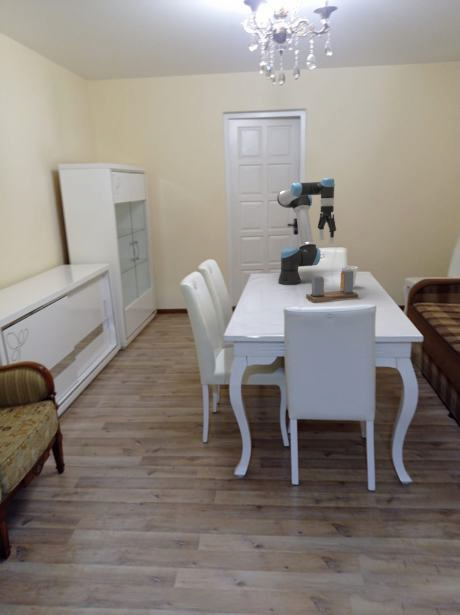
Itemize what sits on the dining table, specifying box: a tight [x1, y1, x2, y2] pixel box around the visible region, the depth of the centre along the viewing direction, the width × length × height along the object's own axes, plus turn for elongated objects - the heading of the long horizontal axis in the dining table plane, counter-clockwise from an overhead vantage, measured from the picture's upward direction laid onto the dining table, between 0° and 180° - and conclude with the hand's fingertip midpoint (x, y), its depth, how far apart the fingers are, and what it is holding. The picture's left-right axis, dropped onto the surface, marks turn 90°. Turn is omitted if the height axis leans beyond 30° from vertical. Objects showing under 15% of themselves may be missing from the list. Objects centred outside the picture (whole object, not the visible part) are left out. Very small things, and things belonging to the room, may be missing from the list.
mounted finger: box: [339, 270, 354, 294], centre depth 251 cm, size 4×6×13 cm, turn 103°
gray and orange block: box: [310, 275, 325, 297], centre depth 248 cm, size 4×6×13 cm, turn 103°
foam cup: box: [341, 265, 359, 289], centre depth 274 cm, size 10×9×13 cm
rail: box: [305, 290, 359, 304], centre depth 251 cm, size 10×28×2 cm, turn 103°
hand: (326, 241), depth 261 cm, fingers open, 13 cm apart
